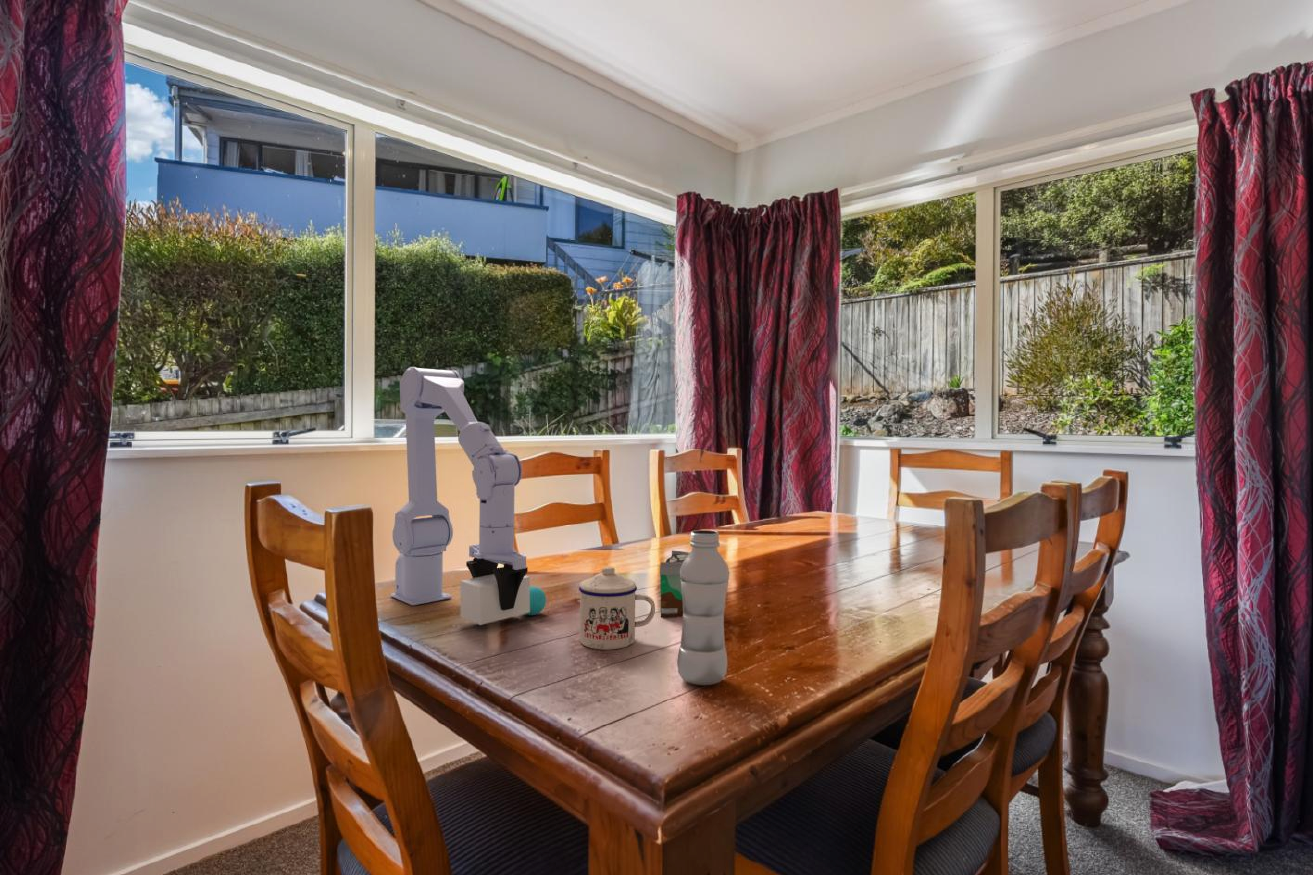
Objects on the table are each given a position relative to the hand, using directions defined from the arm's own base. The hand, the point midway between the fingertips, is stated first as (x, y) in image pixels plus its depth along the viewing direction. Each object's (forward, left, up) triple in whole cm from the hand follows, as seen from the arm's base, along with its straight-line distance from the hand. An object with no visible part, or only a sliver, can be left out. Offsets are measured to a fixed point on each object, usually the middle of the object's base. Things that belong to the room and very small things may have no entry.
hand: (496, 604), depth 113 cm
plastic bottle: (+41, +5, -3) cm, 42 cm away
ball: (0, +7, -1) cm, 7 cm away
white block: (0, 0, -2) cm, 2 cm away
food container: (+17, +28, -3) cm, 33 cm away
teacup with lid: (+21, +8, -3) cm, 23 cm away
